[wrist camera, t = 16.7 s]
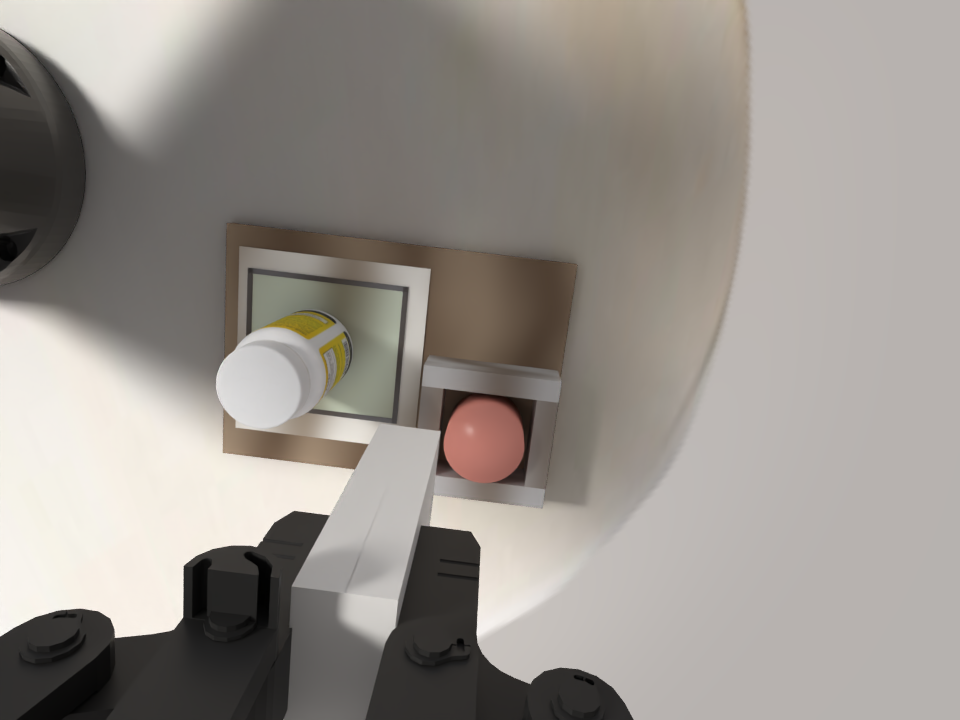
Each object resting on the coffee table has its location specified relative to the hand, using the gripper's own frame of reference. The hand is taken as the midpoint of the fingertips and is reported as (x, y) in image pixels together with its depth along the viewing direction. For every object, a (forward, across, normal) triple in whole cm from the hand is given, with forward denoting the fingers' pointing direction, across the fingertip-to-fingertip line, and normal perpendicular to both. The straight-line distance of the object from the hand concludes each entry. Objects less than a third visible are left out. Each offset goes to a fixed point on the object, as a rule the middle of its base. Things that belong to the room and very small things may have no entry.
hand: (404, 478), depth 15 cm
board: (+21, -4, -3) cm, 22 cm away
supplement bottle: (+21, -8, -3) cm, 23 cm away
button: (+20, +2, -6) cm, 21 cm away
